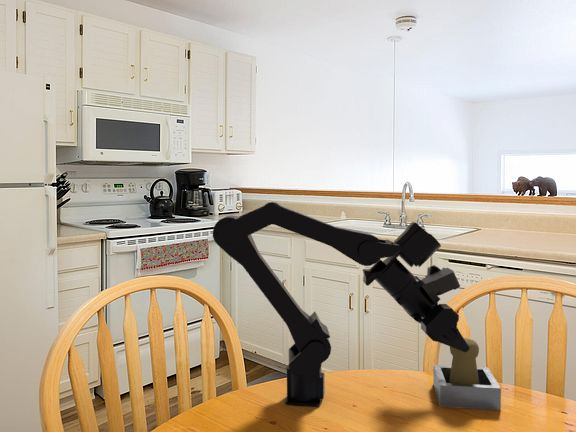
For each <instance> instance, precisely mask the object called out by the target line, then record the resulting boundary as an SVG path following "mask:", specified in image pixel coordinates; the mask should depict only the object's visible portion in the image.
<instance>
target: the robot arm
mask: <svg viewBox="0 0 576 432" xmlns="http://www.w3.org/2000/svg"><path fill="white" fill-rule="evenodd" d="M271 225H273V226H277V227H280V228H282V229H285V230H288V231H290V232H293V233H295V234H298V235H301V236H303V237H306V238H308V239H311V240H314V241H316V242H319V243H321V244H324V245H327V246H329V247H331V248H333V249H335V250H337V252H339V253H341V255H344V256H345V257H347V258H348V259H351V260H352V261H354V262H355V263H357V264H359V265H361V266H364V267H369V268H367V269H366V268H365V269H364V268H363V269H362V273H363V277H362V281H363V283H364V284H365V286H367V287H368V286H370V285H371V284H372V283H373V282H374V281H375V282H376V283H378V284H379V286H380V287H382V289H384V291H386V292H387V293H388V295H390V297H392V298H393V300H394V301H396V303H397V304H398V305H399V306H400V307H401V308H403V310H404V311H405V313H406V314H408V315H409V316H410V317H411V318H412V319H413V320H414V321H415V322H417V323H419V324H420V329H421V330H422V331H423V333H425V335H427V336H428V338H430V339H431V341H433V342H437V343H441V344H442V345H445V346H448V347H449V348H450V347H453V348H455V349H458V350H460V351H463V352H465V353H466V352H467V351H468V350H469V349H470V348H469V346H468V344H467V343H466V341H465V340H464V338H465V337H464V336H463V334H461V331H460V329H459V328H458V322H459V320H460V315H459V314H458V313H457V312H456V311H455V310H454V309H453V308H452V307H451V306H449V305H448V304H446V303H439V301H441V298H440V296H441V295H444V294H446V293H448V292H450V291H452V290H453V291H454V290H457V289H459V288H460V287H461V284H460V282H459V281H458V277H457V276H456V273H455V271H454V270H453V269H451V268H450V267H442V269H441V268H439V267H438V266H437V265H436V264H433V265H431V266H428V267H427V271H426V275H425V277H423V278H422V279H421V278H419V277H418V276H417V275H414V274H413V273H412V272H411V271H410V270H409V269H408V268H407V267H406V266H405V265H404V264H403V263H402V262H401V261H400V260H399V259H398V257H399V258H400V259H402V261H403V262H404V263H405V264H407V265H408V266H409V267H410V268H413V267H414V266H415V268H416V267H418V268H420V267H422V266H423V265H424V263H426V261H428V260H429V259H430V258H431V257H433V255H434V254H435V253H436V252H437V251H438V250H439V249H440V248H441V246H442V245H441V243H440V242H439V241H438V240H437V238H436V237H434V236H433V234H431V233H429V232H428V231H427V230H425V228H423V227H422V226H420V225H419V224H418V223H417V222H415V221H412V222H410V223H409V224H408V225H407V227H406V228H405V230H403V232H402V233H401V234H400V235H399V236H398V237H397V238H396V239H395V240H394V241H392V240H390V239H388V238H387V239H380V238H378V237H376V236H375V235H373V234H372V233H370V232H368V231H363V230H359V229H358V230H357V229H352V228H345V227H340V226H334V225H332V224H330V223H327V222H324V221H323V220H320V219H317V218H314V217H311V216H308V215H307V214H303V213H300V211H299V212H298V211H295V210H293V209H291V208H288V207H285V206H283V205H282V204H279V203H278V202H276V201H269V202H266V203H265V205H263V206H262V205H261V206H260V207H258V208H255V209H254V210H251V211H249V212H247V213H244V214H242V215H240V216H238V215H232V214H231V215H226V216H225V217H223V218H220V219H219V220H218V221H217V222H216V223H215V224H214V226H213V230H212V239H213V240H214V242H215V244H216V245H217V246H218V247H219V248H220V249H222V251H224V252H225V253H226V254H227V255H228V257H230V258H232V259H233V260H234V261H236V263H238V264H240V265H241V266H242V267H243V269H244V270H245V272H246V273H247V274H248V275H249V277H250V278H251V280H252V281H253V282H254V283H255V285H256V286H257V287H258V289H259V290H260V292H262V294H263V295H264V297H265V298H266V299H267V301H268V302H269V303H270V304H271V306H272V307H273V308H274V310H275V311H276V313H277V314H278V315H279V316H280V318H281V319H282V321H283V322H284V323H285V325H286V326H287V328H288V331H289V333H290V335H291V337H292V340H293V342H294V343H293V344H292V345H291V346H290V347H289V348H288V349H287V350H288V364H287V367H286V398H285V400H284V404H285V405H293V406H294V405H295V406H309V407H311V406H313V407H320V406H321V403H322V400H323V399H324V398H325V392H326V391H325V390H326V389H325V388H326V387H325V381H326V380H325V377H326V375H325V372H322V364H323V363H324V362H326V360H328V359H329V357H330V355H331V352H332V345H331V342H330V338H331V335H330V332H329V328H328V326H327V325H326V324H324V323H323V322H322V321H321V320H320V318H319V316H318V314H317V312H316V311H313V312H312V313H311V314H310V315H309V314H308V312H305V311H304V310H303V308H301V306H300V305H299V304H298V303H297V301H296V300H295V299H294V297H293V296H292V295H291V293H290V292H289V291H288V289H287V288H286V287H285V285H284V283H283V282H282V281H281V279H279V277H278V276H277V274H276V273H275V272H274V270H273V269H272V268H271V267H270V264H268V262H267V261H266V260H265V258H264V257H263V256H262V254H261V253H260V252H259V249H258V247H257V244H256V242H255V240H254V238H253V236H252V235H253V234H254V233H256V232H259V231H261V230H263V229H264V228H267V227H269V226H271ZM382 259H383V260H382Z"/></svg>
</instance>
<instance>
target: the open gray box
mask: <svg viewBox="0 0 576 432" xmlns="http://www.w3.org/2000/svg"><path fill="white" fill-rule="evenodd" d="M451 366H452V365H439V364H436V365H435V364H433V388H434V391H435V394H436V397H437V398H436V399H437V402H438V403H439V407H440V408H452V409H453V408H454V409H455V408H456V409H469V410H470V409H472V410H473V409H474V410H489V411H501V406H502V405H501V404H502V388H501V386H500V385H499V383H498V381H497V379H496V378H495V377H494V375H493V373H492V372H491V370H490V368H489V367H483V366H477V372H478V380H479V385H475V384H454V383H449V380H450V373H451Z"/></svg>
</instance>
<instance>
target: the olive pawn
mask: <svg viewBox="0 0 576 432" xmlns="http://www.w3.org/2000/svg"><path fill="white" fill-rule="evenodd" d="M463 338H464V340H465V341H466V343H467V344H468V346H469V348H470V349H469V350H468V351H467V352H466V353H465V352H463V351H460V350H458V349H455V348H453V347H450V346H449V352H450V354H451V355H452V359H451V365H450V366H451V373H450V380H449V383H454V384H475V385H479V380H478V372H477V367H478V365H477V358H478V356H479V353H480V347H479V344H478V343H477V341H475V340H473V339H470V338H467V337H463Z"/></svg>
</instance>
